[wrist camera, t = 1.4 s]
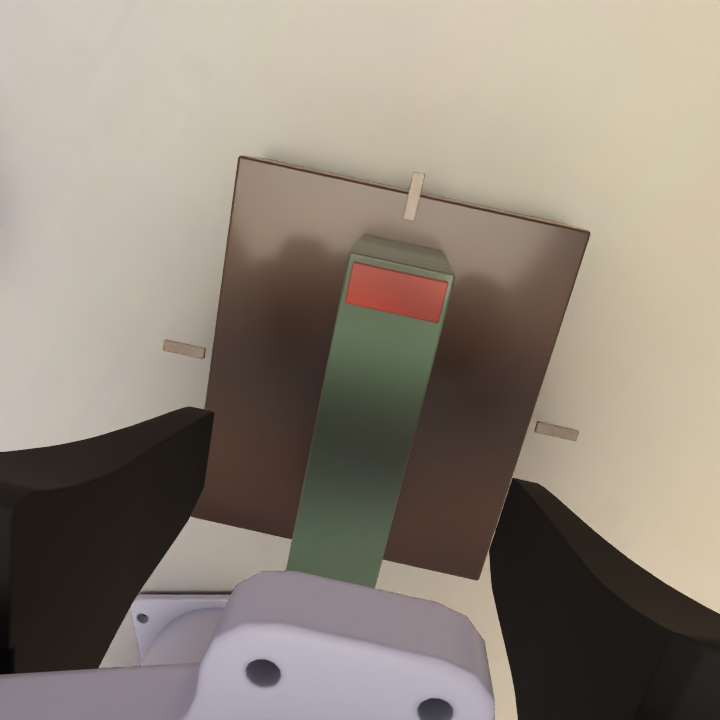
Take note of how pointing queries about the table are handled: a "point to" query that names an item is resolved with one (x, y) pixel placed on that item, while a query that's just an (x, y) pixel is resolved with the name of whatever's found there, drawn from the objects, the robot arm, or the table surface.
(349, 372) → the green box
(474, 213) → the brown blocky piece
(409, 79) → the table surface
